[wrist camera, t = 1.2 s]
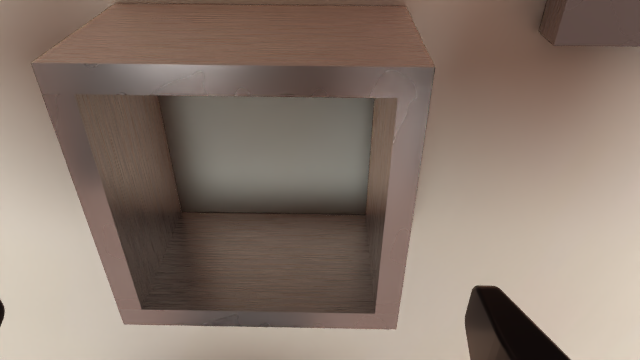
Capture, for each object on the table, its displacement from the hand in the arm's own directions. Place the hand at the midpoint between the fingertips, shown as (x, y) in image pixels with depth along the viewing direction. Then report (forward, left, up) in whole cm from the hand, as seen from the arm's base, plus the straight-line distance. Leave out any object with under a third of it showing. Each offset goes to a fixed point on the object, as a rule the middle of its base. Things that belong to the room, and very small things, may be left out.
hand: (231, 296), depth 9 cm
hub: (0, 0, -6) cm, 6 cm away
